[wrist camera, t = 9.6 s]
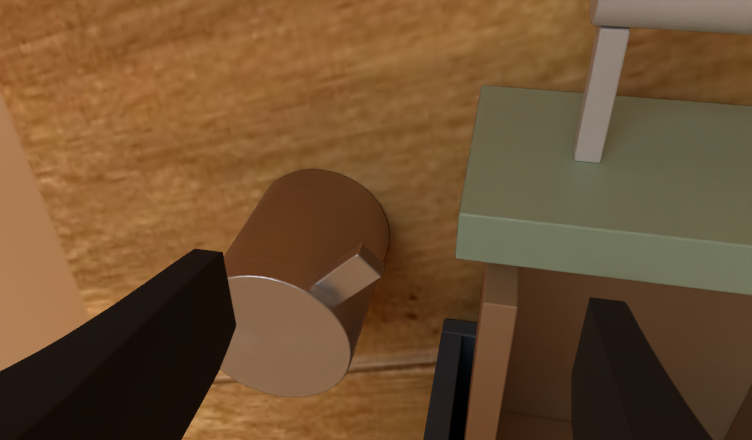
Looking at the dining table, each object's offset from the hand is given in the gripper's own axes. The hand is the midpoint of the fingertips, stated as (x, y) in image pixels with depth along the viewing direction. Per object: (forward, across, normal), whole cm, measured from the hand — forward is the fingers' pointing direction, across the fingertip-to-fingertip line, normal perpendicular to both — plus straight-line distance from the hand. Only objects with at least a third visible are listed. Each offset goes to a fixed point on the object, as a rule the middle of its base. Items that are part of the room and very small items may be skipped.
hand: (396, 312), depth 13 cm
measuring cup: (+9, +4, +5) cm, 12 cm away
